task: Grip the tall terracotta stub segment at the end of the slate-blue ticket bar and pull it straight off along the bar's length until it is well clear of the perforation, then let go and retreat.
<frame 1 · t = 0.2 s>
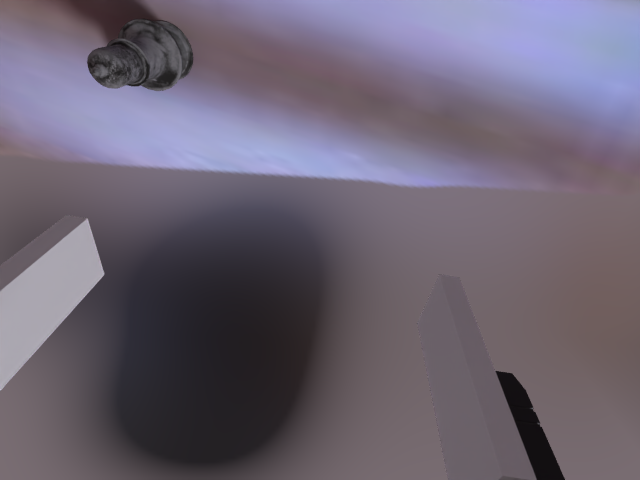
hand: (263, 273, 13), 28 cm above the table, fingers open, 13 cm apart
dark rounded upright piece: (167, 51, 35), on the table
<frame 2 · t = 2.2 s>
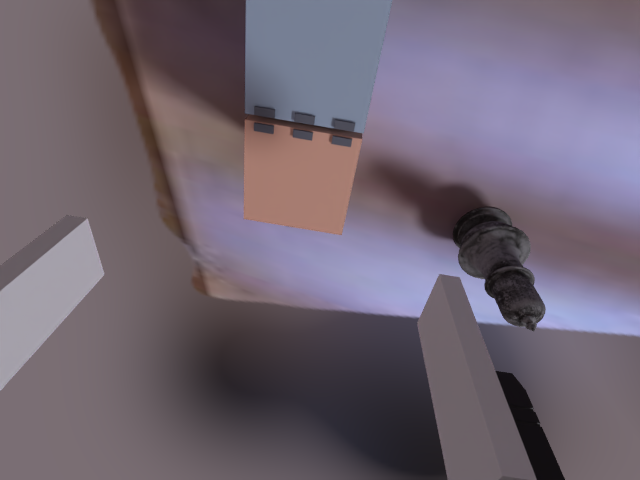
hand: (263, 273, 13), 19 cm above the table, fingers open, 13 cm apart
dark rounded upright piece: (481, 230, 33), on the table
stub: (308, 147, 24), point 6 cm above the table, slide at 0.0 cm
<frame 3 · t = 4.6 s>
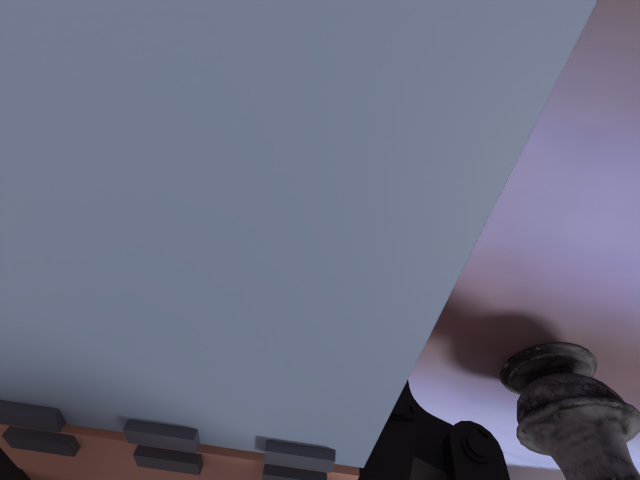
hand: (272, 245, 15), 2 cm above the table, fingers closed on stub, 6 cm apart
dark rounded upright piece: (545, 368, 21), on the table
stub: (250, 315, 12), point 6 cm above the table, slide at 0.0 cm, touching gripper
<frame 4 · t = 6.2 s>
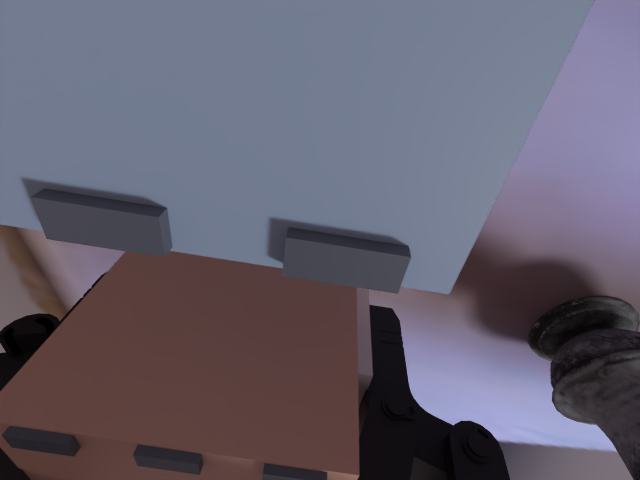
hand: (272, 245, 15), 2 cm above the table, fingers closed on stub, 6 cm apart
dark rounded upright piece: (579, 328, 19), on the table
stub: (250, 315, 12), point 6 cm above the table, slide at 3.7 cm, touching gripper
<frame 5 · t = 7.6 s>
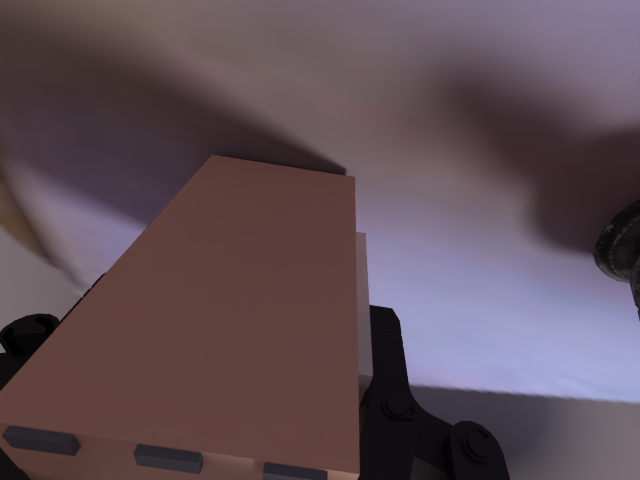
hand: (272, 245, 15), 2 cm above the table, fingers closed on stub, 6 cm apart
stub: (250, 315, 12), point 6 cm above the table, slide at 10.0 cm, touching gripper
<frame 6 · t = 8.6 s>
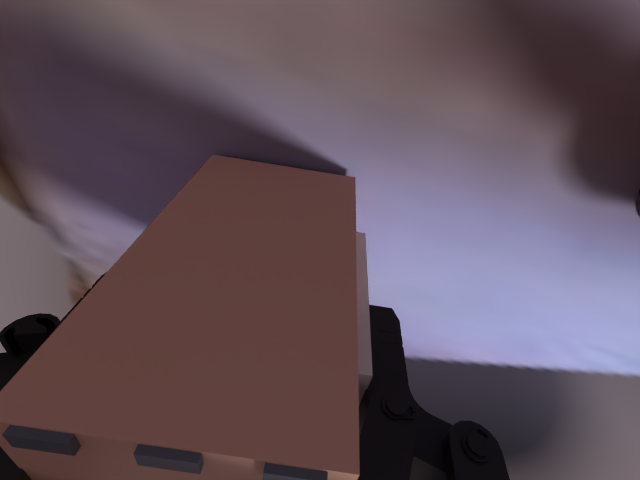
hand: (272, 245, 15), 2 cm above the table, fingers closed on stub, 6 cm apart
stub: (250, 315, 12), point 6 cm above the table, slide at 12.9 cm, touching gripper
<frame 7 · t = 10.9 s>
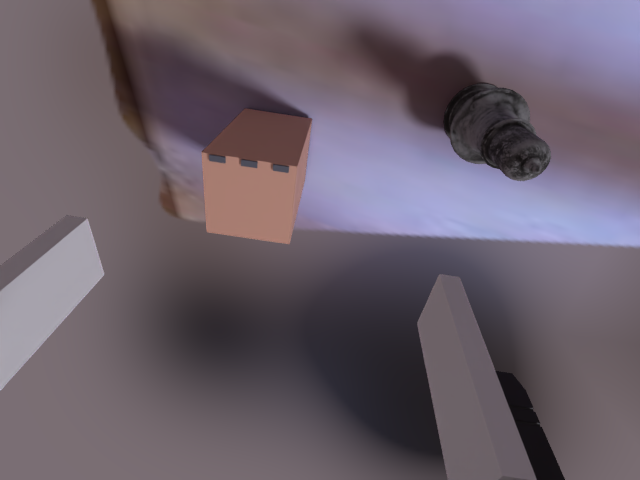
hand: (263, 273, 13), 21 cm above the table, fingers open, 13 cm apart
dark rounded upright piece: (474, 115, 30), on the table
stub: (264, 169, 28), point 6 cm above the table, slide at 13.0 cm
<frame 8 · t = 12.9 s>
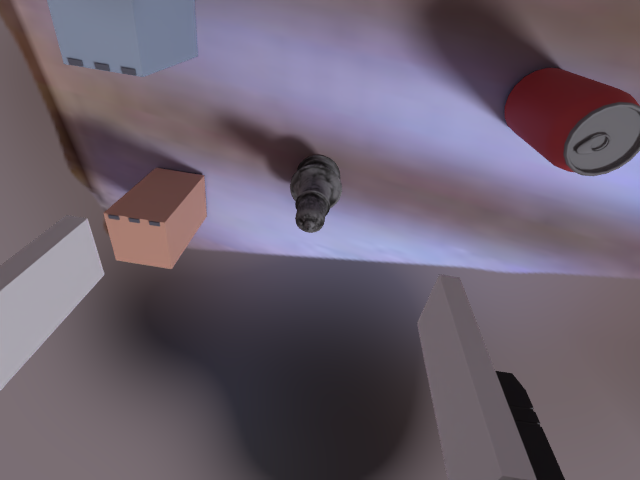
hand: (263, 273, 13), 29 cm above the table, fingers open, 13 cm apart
dark rounded upright piece: (318, 175, 42), on the table
stub: (162, 215, 40), point 6 cm above the table, slide at 13.0 cm
beer can: (535, 101, 36), on the table
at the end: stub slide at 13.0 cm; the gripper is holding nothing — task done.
